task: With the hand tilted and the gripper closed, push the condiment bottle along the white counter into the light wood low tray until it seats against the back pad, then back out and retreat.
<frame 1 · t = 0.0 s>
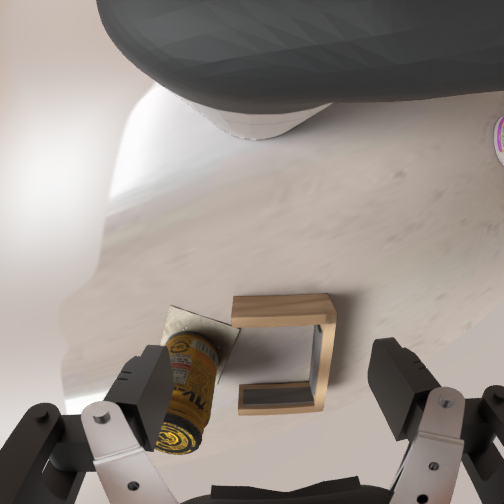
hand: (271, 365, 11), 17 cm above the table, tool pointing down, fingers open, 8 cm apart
condiment: (194, 347, 31), on the table
light wood low tray: (280, 348, 31), on the table
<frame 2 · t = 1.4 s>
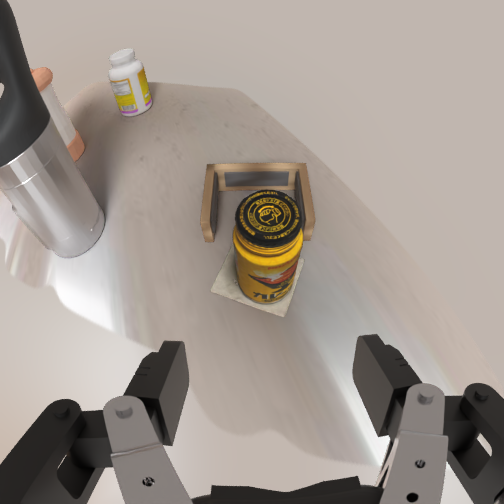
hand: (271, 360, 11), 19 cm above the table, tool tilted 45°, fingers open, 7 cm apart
condiment: (258, 276, 34), on the table
supplement bottle: (136, 109, 53), on the table
pepper shaker: (68, 155, 47), on the table
light wood low tray: (257, 210, 39), on the table
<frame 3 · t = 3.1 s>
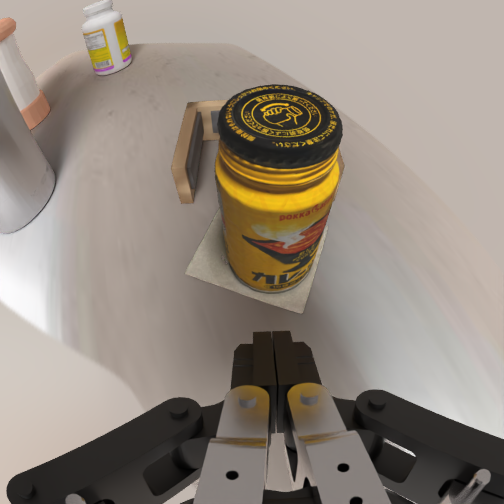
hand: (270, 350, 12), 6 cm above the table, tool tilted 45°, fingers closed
condiment: (259, 251, 22), on the table
supplement bottle: (114, 68, 41), on the table
pepper shaker: (31, 121, 34), on the table
light wood low tray: (256, 162, 27), on the table
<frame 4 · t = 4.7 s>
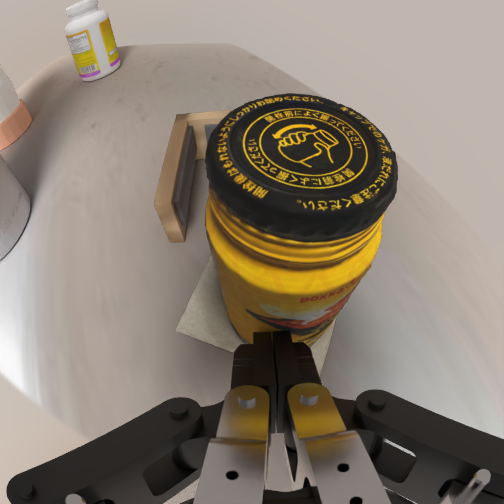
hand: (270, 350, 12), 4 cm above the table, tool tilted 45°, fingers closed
condiment: (266, 301, 18), on the table, touching gripper
supplement bottle: (101, 73, 37), on the table
pepper shaker: (12, 134, 30), on the table
light wood low tray: (261, 188, 22), on the table
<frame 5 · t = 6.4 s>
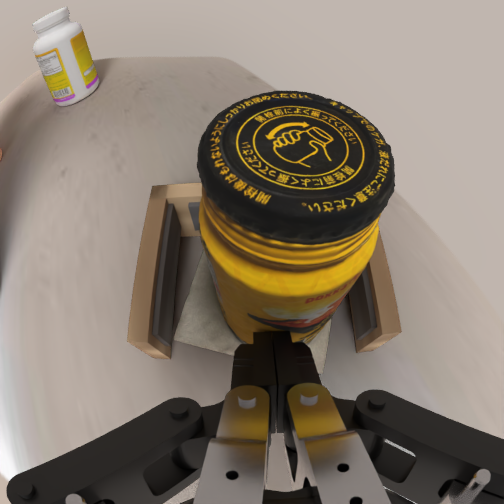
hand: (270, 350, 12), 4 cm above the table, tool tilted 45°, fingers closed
condiment: (261, 300, 18), on the table, touching gripper, light wood low tray
supplement bottle: (78, 95, 32), on the table
light wood low tray: (261, 284, 18), on the table
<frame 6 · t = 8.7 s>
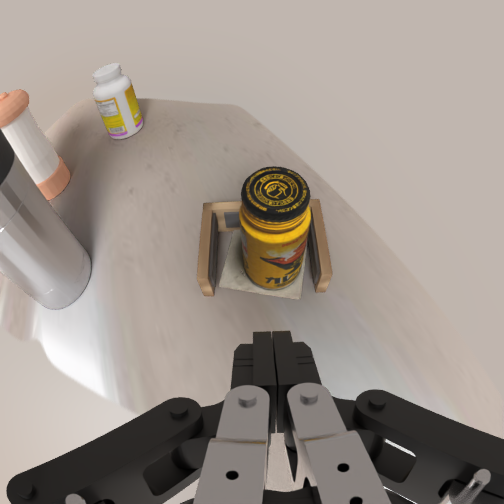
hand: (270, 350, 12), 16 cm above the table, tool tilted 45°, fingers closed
condiment: (264, 264, 33), on the table
supplement bottle: (127, 130, 48), on the table
pepper shaker: (53, 185, 42), on the table
light wood low tray: (263, 256, 34), on the table
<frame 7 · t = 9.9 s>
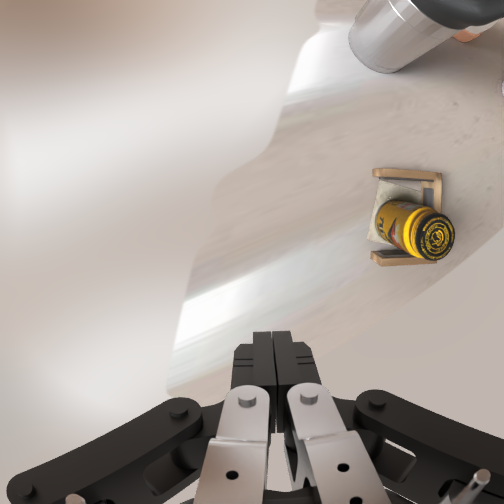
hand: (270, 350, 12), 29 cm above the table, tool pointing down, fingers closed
condiment: (394, 215, 40), on the table
pepper shaker: (455, 24, 32), on the table
light wood low tray: (400, 214, 40), on the table
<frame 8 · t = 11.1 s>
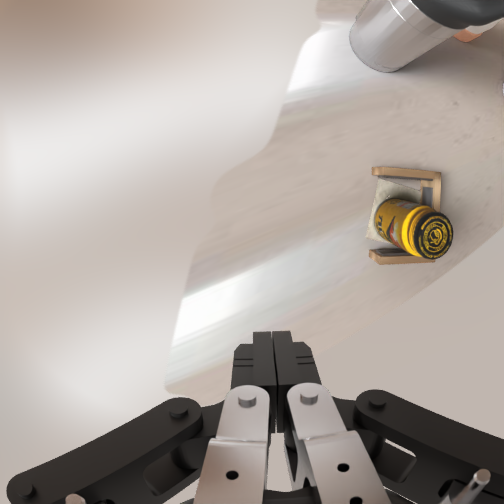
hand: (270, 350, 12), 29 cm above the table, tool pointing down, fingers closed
condiment: (393, 213, 40), on the table
pepper shaker: (456, 24, 31), on the table
light wood low tray: (399, 213, 40), on the table
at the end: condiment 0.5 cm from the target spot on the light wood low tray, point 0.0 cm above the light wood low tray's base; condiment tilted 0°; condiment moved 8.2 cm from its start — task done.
